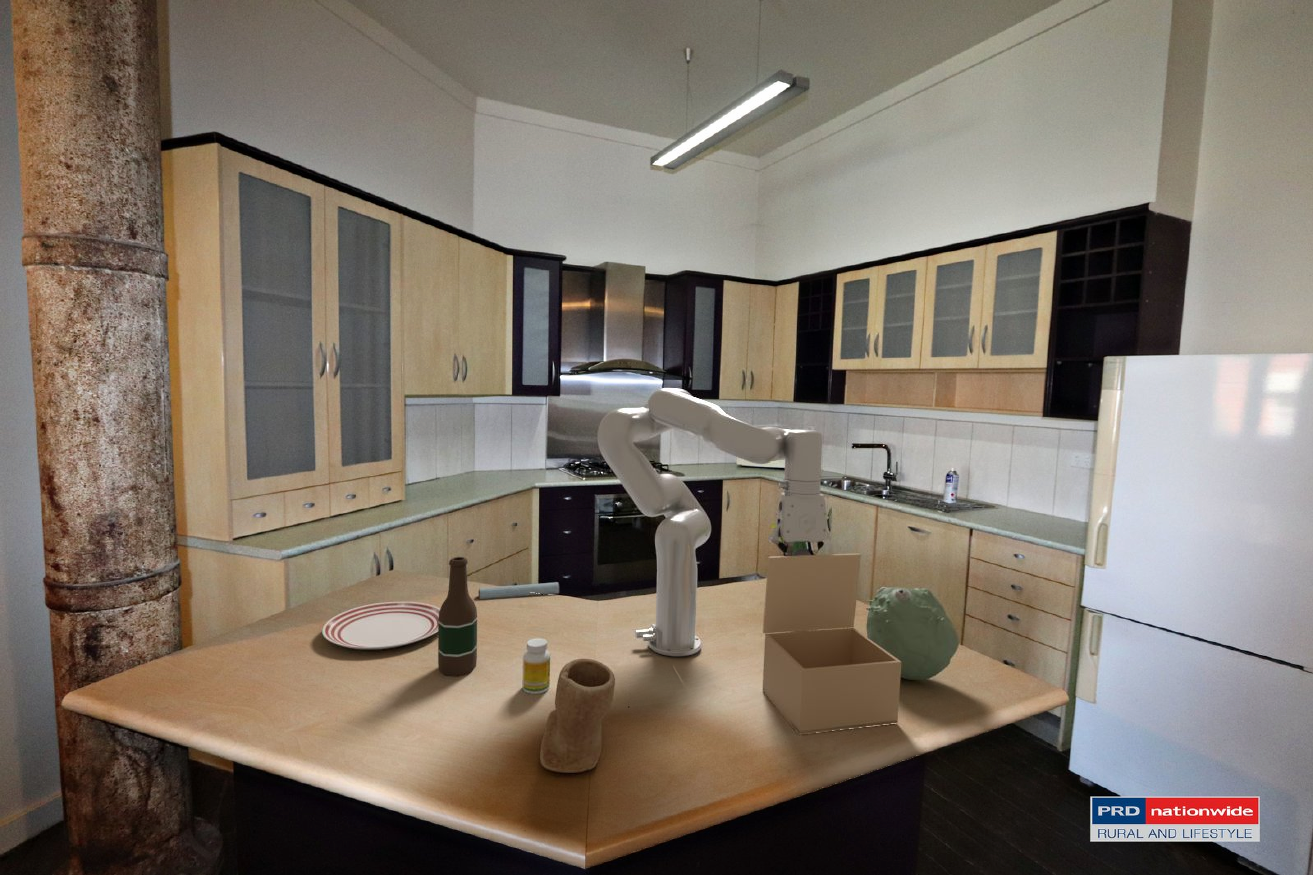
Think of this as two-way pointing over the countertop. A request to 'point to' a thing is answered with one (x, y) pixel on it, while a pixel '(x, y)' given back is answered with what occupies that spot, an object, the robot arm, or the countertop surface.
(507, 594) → the aluminum foil
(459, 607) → the beer bottle
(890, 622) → the green lumpy rounded blob
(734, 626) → the countertop surface
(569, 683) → the brown boot
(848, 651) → the carton
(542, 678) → the supplement bottle
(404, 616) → the dinner plate
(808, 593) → the lid
